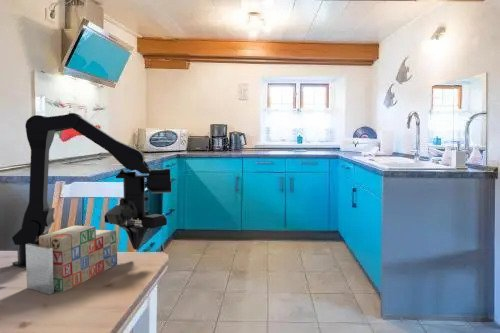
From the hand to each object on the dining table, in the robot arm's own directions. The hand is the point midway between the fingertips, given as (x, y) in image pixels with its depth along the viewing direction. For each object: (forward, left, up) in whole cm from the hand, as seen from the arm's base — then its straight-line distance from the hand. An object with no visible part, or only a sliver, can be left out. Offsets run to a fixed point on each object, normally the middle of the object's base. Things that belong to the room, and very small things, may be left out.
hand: (135, 249), depth 119 cm
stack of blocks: (-1, -17, -3) cm, 18 cm away
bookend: (0, -29, -3) cm, 29 cm away
